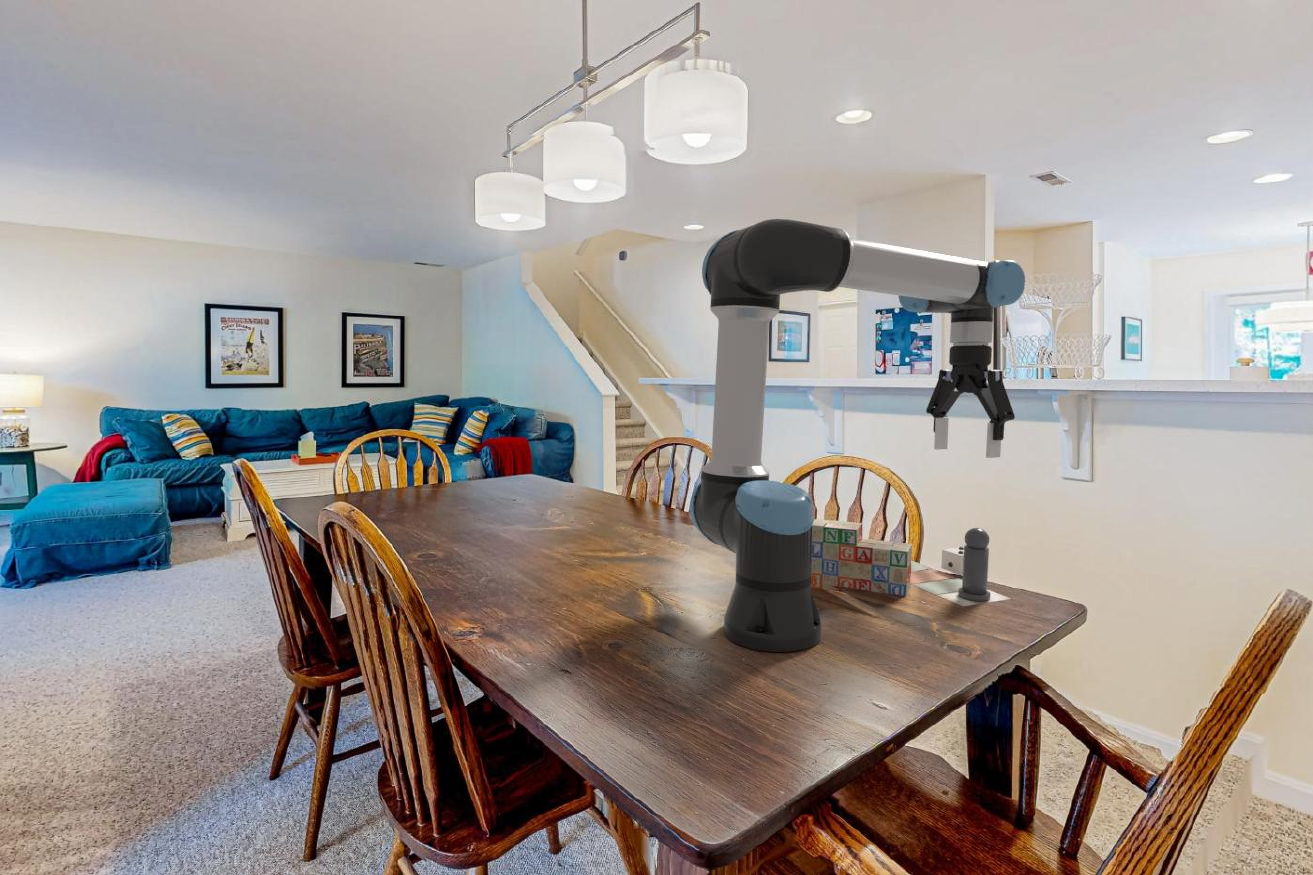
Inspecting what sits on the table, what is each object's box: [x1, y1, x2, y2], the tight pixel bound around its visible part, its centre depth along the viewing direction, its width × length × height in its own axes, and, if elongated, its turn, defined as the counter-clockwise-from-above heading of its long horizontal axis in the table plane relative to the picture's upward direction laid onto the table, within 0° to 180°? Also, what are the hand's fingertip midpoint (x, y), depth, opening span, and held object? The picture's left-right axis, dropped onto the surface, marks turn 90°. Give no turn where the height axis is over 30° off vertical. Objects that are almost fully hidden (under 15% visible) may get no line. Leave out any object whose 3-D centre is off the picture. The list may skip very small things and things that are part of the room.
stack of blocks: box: [811, 518, 913, 597], centre depth 132 cm, size 21×6×12 cm, turn 63°
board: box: [910, 560, 1012, 607], centre depth 134 cm, size 12×26×1 cm, turn 20°
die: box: [940, 546, 964, 576], centre depth 140 cm, size 6×6×6 cm
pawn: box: [958, 527, 990, 602], centre depth 124 cm, size 5×5×12 cm
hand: (965, 453), depth 138 cm, fingers open, 13 cm apart
